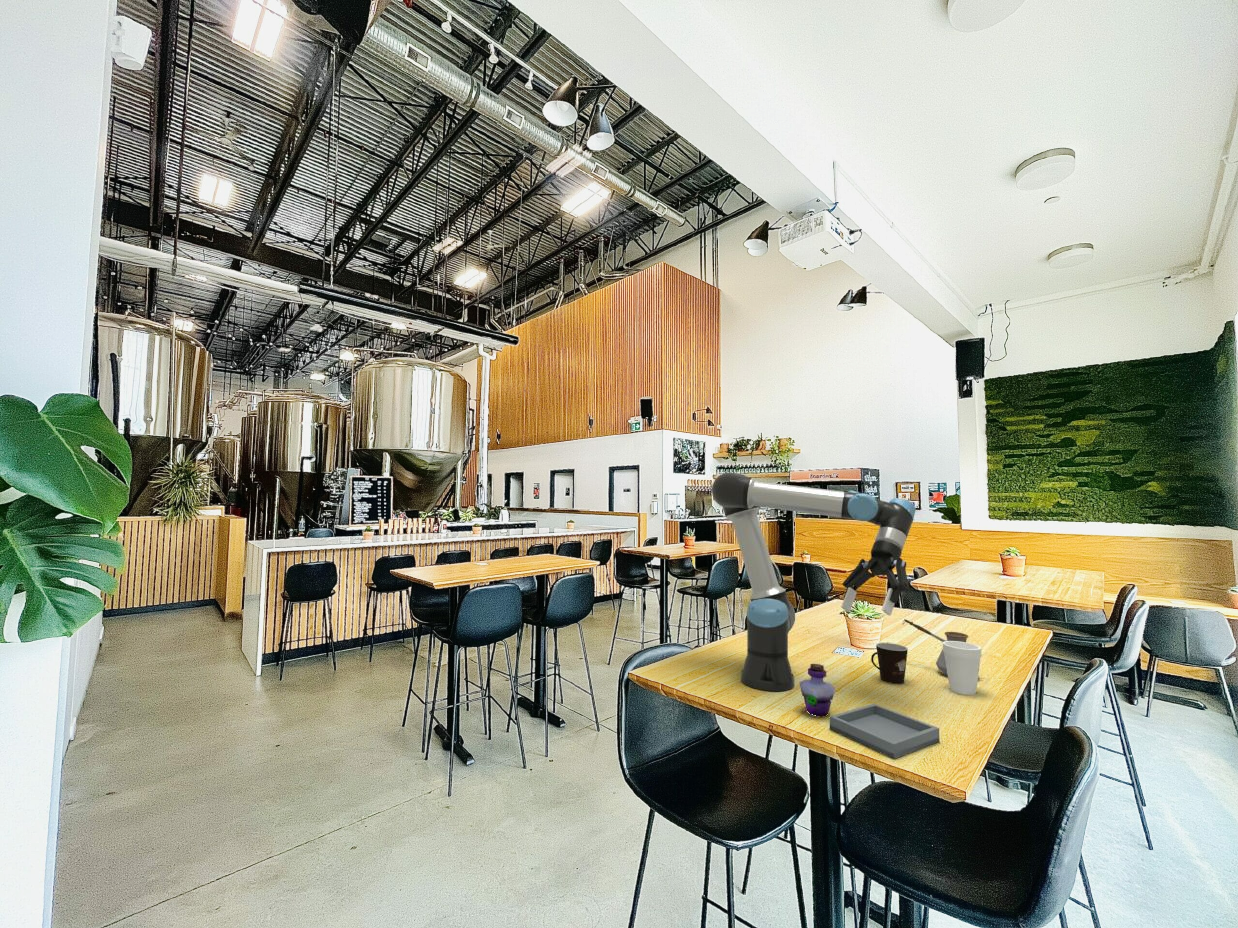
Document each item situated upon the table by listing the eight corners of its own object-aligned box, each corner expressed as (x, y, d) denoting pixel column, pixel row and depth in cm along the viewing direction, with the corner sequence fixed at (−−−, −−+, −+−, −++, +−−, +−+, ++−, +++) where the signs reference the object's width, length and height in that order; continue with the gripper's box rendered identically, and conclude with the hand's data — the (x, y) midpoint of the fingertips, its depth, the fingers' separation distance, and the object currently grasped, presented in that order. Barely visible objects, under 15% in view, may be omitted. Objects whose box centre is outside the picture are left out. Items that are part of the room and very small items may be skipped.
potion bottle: (798, 716, 130) (798, 667, 131) (800, 703, 138) (799, 657, 139) (836, 722, 127) (835, 671, 128) (835, 709, 135) (834, 661, 136)
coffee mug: (900, 676, 162) (900, 643, 163) (913, 685, 154) (913, 651, 154) (862, 674, 163) (861, 641, 164) (872, 683, 155) (872, 649, 155)
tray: (829, 729, 123) (829, 715, 123) (874, 715, 131) (874, 703, 132) (894, 758, 109) (893, 744, 109) (939, 741, 117) (939, 727, 118)
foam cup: (985, 691, 150) (983, 645, 151) (979, 699, 143) (978, 651, 144) (947, 682, 157) (946, 639, 157) (940, 690, 150) (939, 644, 151)
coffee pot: (983, 676, 164) (981, 627, 165) (975, 684, 156) (973, 633, 157) (908, 660, 179) (907, 616, 180) (897, 667, 171) (896, 621, 172)
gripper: (937, 552, 140) (914, 622, 132) (861, 555, 162) (838, 615, 154) (919, 536, 139) (895, 605, 130) (845, 541, 161) (821, 601, 153)
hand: (864, 611), depth 142 cm, fingers open, 13 cm apart
